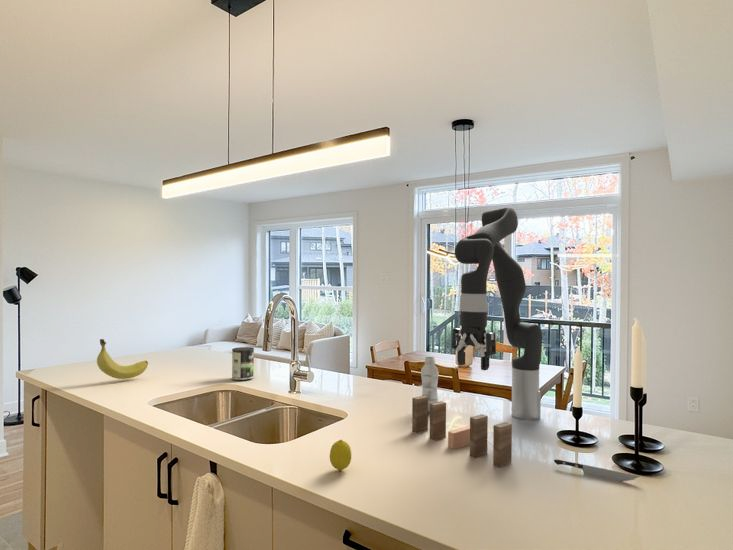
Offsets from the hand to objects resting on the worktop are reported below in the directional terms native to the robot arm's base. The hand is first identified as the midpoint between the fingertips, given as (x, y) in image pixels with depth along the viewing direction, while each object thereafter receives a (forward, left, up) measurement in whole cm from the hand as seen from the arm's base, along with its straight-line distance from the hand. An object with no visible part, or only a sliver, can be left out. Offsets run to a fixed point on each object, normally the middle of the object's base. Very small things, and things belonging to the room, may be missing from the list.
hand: (472, 367), depth 126 cm
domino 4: (-2, +1, -25) cm, 25 cm away
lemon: (+34, +17, -25) cm, 45 cm away
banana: (+158, -63, -25) cm, 172 cm away
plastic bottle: (+13, -38, -25) cm, 47 cm away
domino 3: (+6, -3, -22) cm, 23 cm away
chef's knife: (-29, +10, -25) cm, 39 cm away
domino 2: (+10, -10, -25) cm, 28 cm away
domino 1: (+15, -16, -25) cm, 33 cm away
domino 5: (-7, +7, -25) cm, 26 cm away
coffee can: (+104, -77, -25) cm, 131 cm away
